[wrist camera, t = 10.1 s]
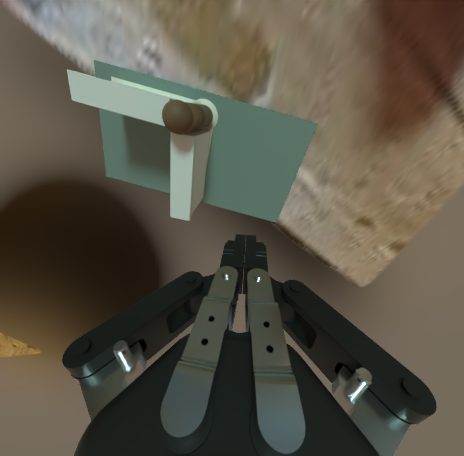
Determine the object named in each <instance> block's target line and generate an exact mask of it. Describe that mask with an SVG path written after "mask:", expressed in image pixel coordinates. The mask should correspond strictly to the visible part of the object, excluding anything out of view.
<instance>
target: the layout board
mask: <svg viewBox="0 0 464 456" xmlns="http://www.w3.org/2000/svg"><path fill="white" fill-rule="evenodd" d="M94 65H95V75H96V77H97V78H100V79H104V80H109V81H114V82H118V83H122V84H126V85H129V86H133V87H136V88H140V89H143V90H147V91H150V92H154V93H158V94H161V95H165V96H168V97H172V98H175V99H179V100H182V101H186V102H189V103H196V104H203V105H206V106H208V107H209V108H210V109H211V111H212V113H213V120H212V123H211V124H210V125H209V126H207V127H204V128H200V129H201V130H206V131H210V132H209V142H208V153H207V163H206V174H205V184H204V195H203V198H202V200H201V201H200V202H202V203H206V204H209V205H213V206H217V207H221V208H224V209H228V210H232V211H235V212H239V213H242V214H246V215H250V216H253V217H257V218H261V219H264V220H268V221H272V222H275V223H276V222H277V219H278V217H279V215H280V212H281V210H282V207H283V205H284V203H285V200H286V198H287V195H288V193H289V191H290V188H291V186H292V183H293V181H294V179H295V176H296V174H297V172H298V169H299V167H300V164H301V162H302V160H303V157H304V155H305V152H306V150H307V148H308V145H309V143H310V141H311V138H312V136H313V133H314V131H315V129H316V126H317V123H314V122H310V121H307V120H303V119H300V118H296V117H293V116H289V115H286V114H282V113H279V112H275V111H272V110H268V109H265V108H261V107H258V106H254V105H251V104H247V103H244V102H240V101H236V100H233V99H229V98H226V97H222V96H219V95H215V94H212V93H208V92H205V91H201V90H198V89H194V88H191V87H187V86H184V85H180V84H177V83H173V82H170V81H166V80H162V79H159V78H155V77H152V76H148V75H145V74H141V73H138V72H134V71H131V70H127V69H124V68H120V67H117V66H113V65H110V64H106V63H103V62H99V61H96V60H94ZM99 112H100V122H101V131H102V140H103V150H104V159H105V169H106V176H107V177H111V178H114V179H118V180H122V181H125V182H129V183H133V184H136V185H140V186H144V187H147V188H151V189H155V190H158V191H162V192H165V193H169V194H170V151H171V131H169V130H168V129H167V128H166V126H163V125H159V124H155V123H152V122H148V121H145V120H141V119H138V118H134V117H130V116H127V115H123V114H120V113H116V112H112V111H109V110H105V109H102V108H99Z"/></svg>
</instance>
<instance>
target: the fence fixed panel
mask: <svg viewBox="0 0 464 456" xmlns="http://www.w3.org/2000/svg"><path fill="white" fill-rule="evenodd" d="M67 72H68V79H69V85H70V91H71V97H72V100H73V101H77V102H80V103H84V104H87V105H91V106H95V107H99V108H102V109H105V110H109V111H112V112H116V113H120V114H123V115H127V116H130V117H134V118H138V119H141V120H145V121H148V122H152V123H155V124H159V125H163V126H165V125H164V123H163V119H162V110H163V107H164V106H165V104H166V103H167V102H169V101H171V100H175V98H172V97H168V96H165V95H161V94H158V93H154V92H150V91H147V90H143V89H140V88H136V87H133V86H129V85H126V84H122V83H118V82H114V81H109V80H104V79H100V78H97V77H93V76H90V75H86V74H83V73H79V72H75V71H71V70H67ZM177 100H179V99H177ZM181 101H182V100H181ZM183 102H186V101H183ZM188 103H189V102H188Z"/></svg>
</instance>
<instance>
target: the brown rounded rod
mask: <svg viewBox="0 0 464 456" xmlns="http://www.w3.org/2000/svg"><path fill="white" fill-rule="evenodd" d="M162 119H163V123H164V125H165V126H166V128H167V129H168V130H169V131H171V132H172V133H174V134H178V135H182V134H185V133H187V132H189V131H192V130H196V129H200V128H204V127H207V126H209V125H210V124H211V123H212V120H213V113H212V111H211V109H210V108H209V107H208V106H206V105H203V104H196V103H188V102H183V101H181V100H177V99H175V100H171V101H169V102H167V103H166V104H165V106H164V107H163V110H162Z"/></svg>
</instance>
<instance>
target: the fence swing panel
mask: <svg viewBox="0 0 464 456" xmlns="http://www.w3.org/2000/svg"><path fill="white" fill-rule="evenodd" d="M209 132H210V131H206V130H201V129H196V130H192V131H189V132H187V133H185V134H182V135H178V134H174V133H172V132H171V151H170V196H171V201H170V203H171V204H170V206H171V207H170V210H171V211H170V212H171V213H170V214H171V215H170V216H171V217H173V218H178V219H183V220H188V221H190V219H191V215H192V213H193V212H194V210H195V209H196V207H197V206H198V204H199V203H200V201H201V200H202V198H203V195H204V184H205V174H206V163H207V153H208V142H209Z"/></svg>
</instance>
